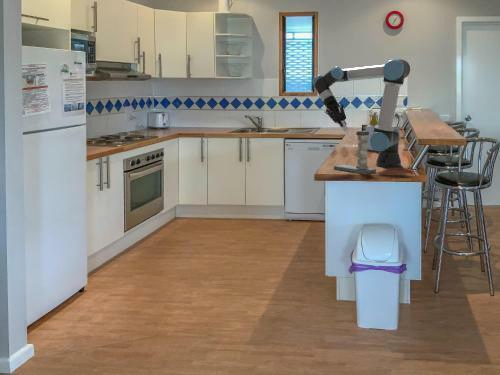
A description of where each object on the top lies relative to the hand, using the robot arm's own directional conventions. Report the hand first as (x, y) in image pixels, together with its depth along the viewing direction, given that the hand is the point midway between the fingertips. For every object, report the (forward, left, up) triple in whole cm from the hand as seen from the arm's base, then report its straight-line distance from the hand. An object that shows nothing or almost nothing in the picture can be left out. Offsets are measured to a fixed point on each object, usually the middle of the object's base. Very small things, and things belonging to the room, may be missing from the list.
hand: (346, 130), depth 430 cm
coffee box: (-42, -109, -23) cm, 119 cm away
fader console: (-1, +15, -22) cm, 27 cm away
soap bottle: (-39, -84, -22) cm, 96 cm away
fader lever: (-5, +20, -20) cm, 29 cm away
